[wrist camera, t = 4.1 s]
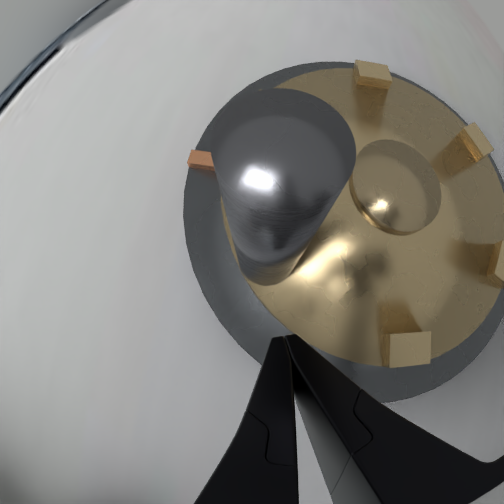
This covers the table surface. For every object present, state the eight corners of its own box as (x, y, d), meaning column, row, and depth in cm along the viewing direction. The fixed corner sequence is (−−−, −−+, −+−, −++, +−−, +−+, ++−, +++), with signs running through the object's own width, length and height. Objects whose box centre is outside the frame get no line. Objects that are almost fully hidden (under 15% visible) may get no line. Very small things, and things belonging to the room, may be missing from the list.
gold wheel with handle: (394, 61, 22) (439, -44, 10) (529, 259, 18) (639, 212, 6) (171, 141, 20) (111, -10, 8) (328, 428, 16) (426, 553, 4)
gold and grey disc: (538, 273, 19) (553, 268, 17) (305, 467, 17) (310, 480, 15) (389, 52, 25) (395, 38, 23) (136, 144, 22) (127, 129, 20)
